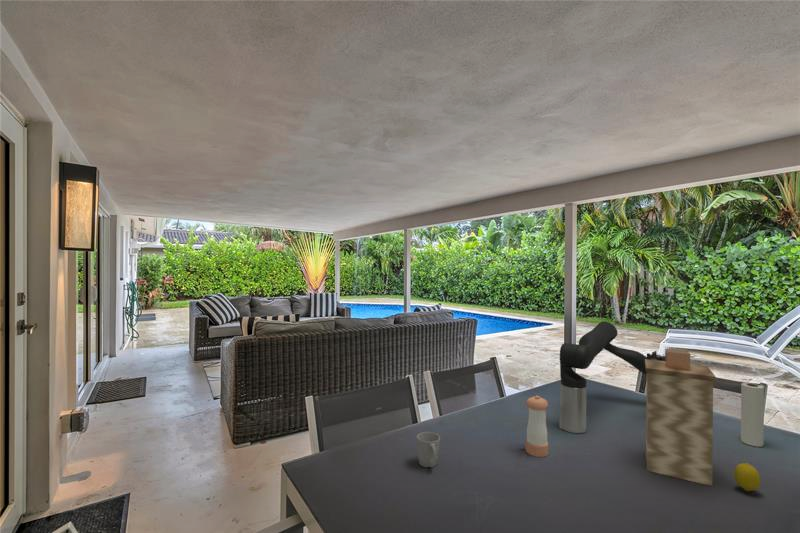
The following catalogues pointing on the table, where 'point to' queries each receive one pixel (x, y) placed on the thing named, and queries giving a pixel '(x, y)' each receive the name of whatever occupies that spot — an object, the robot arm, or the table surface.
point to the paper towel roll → (752, 414)
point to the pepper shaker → (537, 427)
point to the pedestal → (679, 421)
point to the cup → (428, 448)
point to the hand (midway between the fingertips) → (668, 354)
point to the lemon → (747, 477)
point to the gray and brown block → (677, 359)
